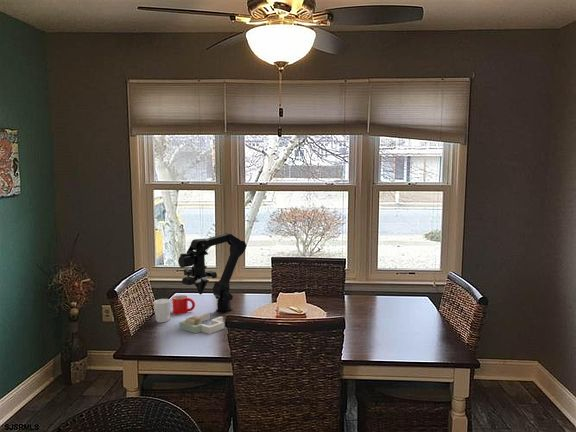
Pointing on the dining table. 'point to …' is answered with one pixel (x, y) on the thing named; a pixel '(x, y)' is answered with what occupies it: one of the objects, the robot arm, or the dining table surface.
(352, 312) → the dining table surface
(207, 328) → the angular open frame
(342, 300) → the dining table surface
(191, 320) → the block
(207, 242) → the robot arm
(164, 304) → the white cup
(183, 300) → the mug
